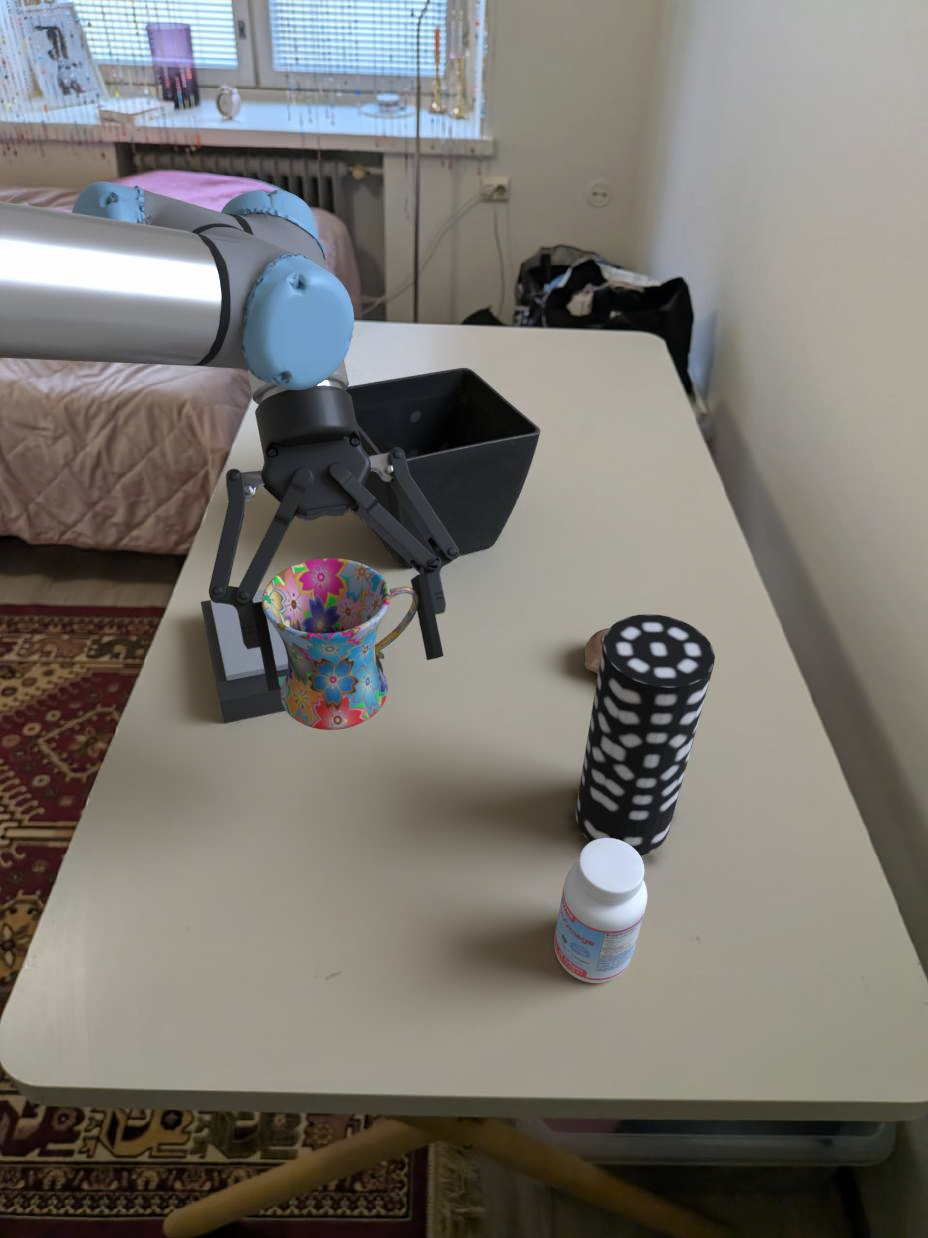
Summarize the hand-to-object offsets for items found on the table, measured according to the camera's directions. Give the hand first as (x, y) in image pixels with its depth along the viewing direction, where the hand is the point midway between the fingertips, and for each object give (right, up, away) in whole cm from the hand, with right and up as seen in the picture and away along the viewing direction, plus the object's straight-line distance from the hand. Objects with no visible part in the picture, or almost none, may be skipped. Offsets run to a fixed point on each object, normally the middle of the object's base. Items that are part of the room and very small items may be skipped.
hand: (356, 674), depth 70 cm
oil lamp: (+24, -2, +27) cm, 36 cm away
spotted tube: (+22, -14, +12) cm, 29 cm away
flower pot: (+4, +15, +46) cm, 49 cm away
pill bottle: (+18, -22, +2) cm, 28 cm away
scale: (-10, 0, +27) cm, 29 cm away
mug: (-1, -2, +5) cm, 5 cm away
